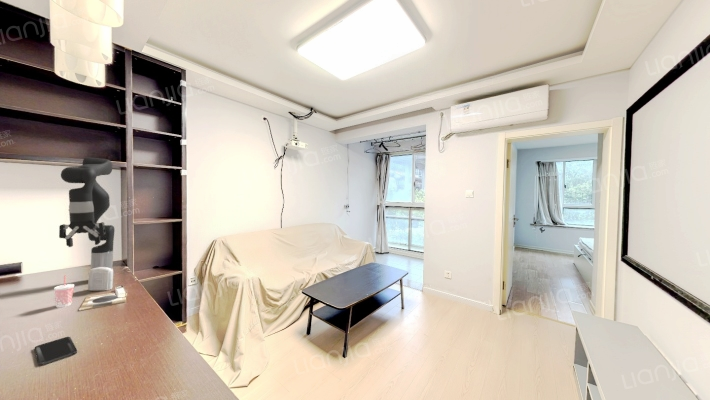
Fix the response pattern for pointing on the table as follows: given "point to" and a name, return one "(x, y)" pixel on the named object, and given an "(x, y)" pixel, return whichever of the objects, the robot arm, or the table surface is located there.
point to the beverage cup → (63, 294)
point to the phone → (55, 350)
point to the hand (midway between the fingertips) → (84, 245)
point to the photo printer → (100, 278)
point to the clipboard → (102, 301)
